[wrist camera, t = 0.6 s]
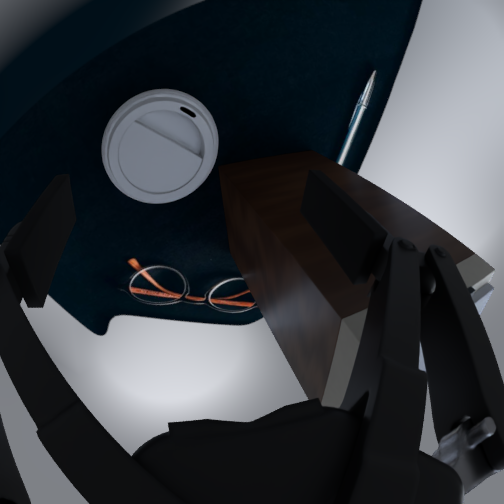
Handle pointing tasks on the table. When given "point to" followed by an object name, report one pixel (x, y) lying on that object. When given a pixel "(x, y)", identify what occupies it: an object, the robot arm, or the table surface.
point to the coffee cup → (160, 146)
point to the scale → (351, 329)
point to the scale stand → (307, 253)
